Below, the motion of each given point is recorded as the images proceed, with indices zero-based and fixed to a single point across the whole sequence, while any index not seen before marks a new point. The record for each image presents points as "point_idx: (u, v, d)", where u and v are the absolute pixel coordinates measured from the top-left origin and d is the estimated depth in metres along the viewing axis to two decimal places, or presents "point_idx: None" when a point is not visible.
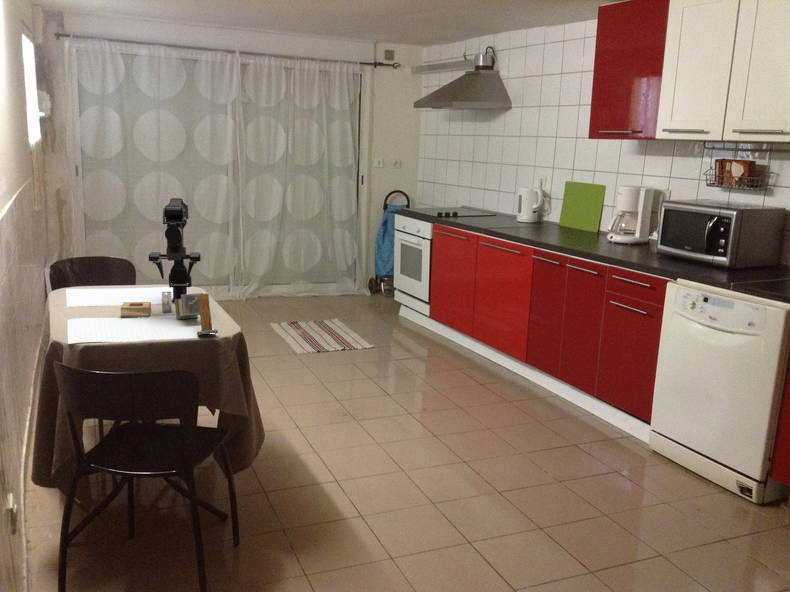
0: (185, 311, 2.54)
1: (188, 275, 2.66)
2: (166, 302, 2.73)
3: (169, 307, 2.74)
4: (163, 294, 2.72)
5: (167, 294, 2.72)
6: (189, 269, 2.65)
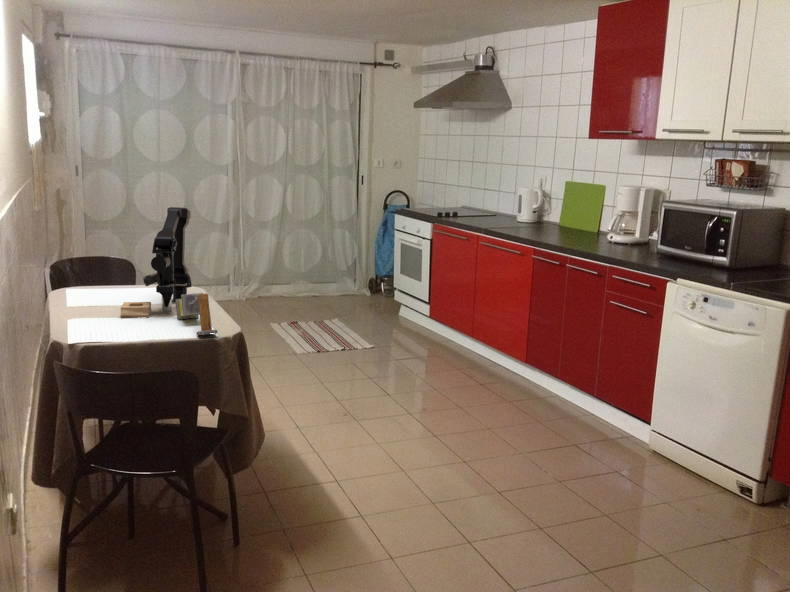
0: (185, 311, 2.54)
1: (164, 303, 2.72)
2: None
3: (169, 307, 2.74)
4: None
5: None
6: None
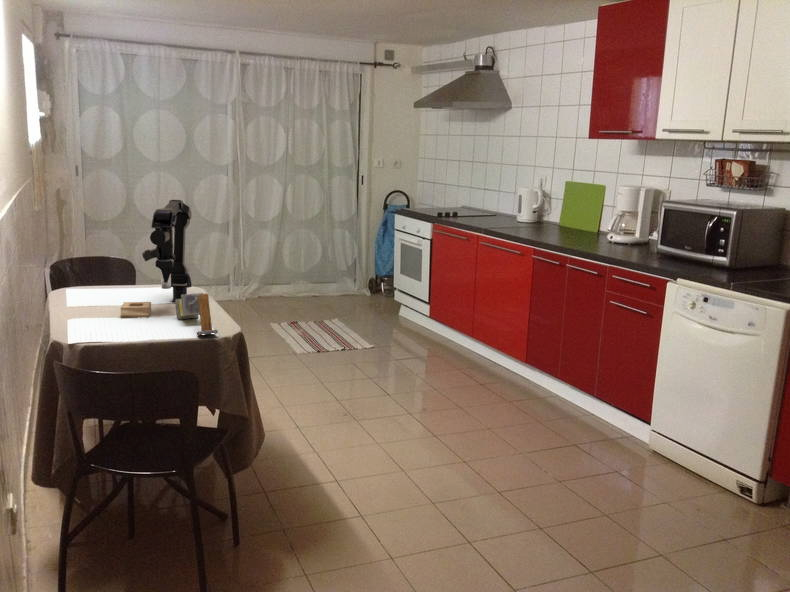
0: (185, 311, 2.54)
1: (163, 278, 2.70)
2: None
3: (168, 283, 2.72)
4: None
5: None
6: (162, 272, 2.69)
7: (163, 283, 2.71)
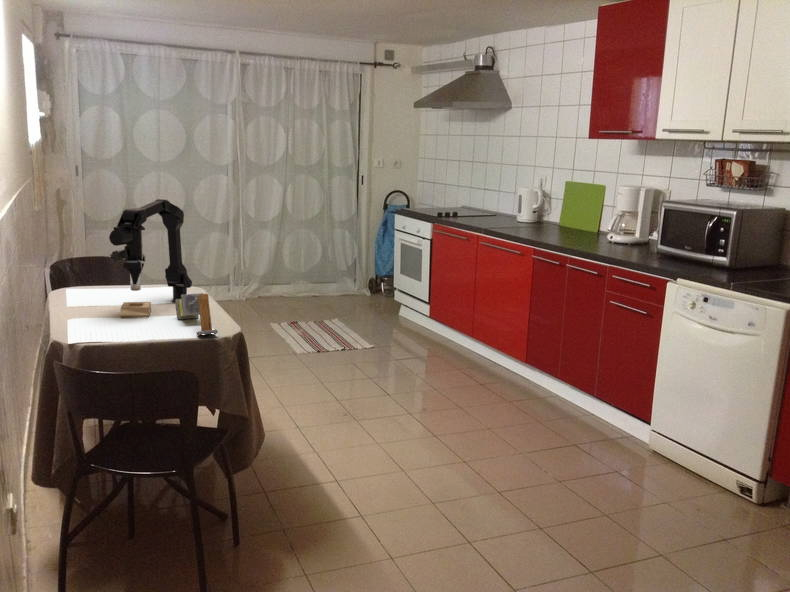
0: (185, 311, 2.54)
1: (132, 280, 2.64)
2: None
3: (138, 284, 2.65)
4: None
5: None
6: None
7: (132, 285, 2.65)
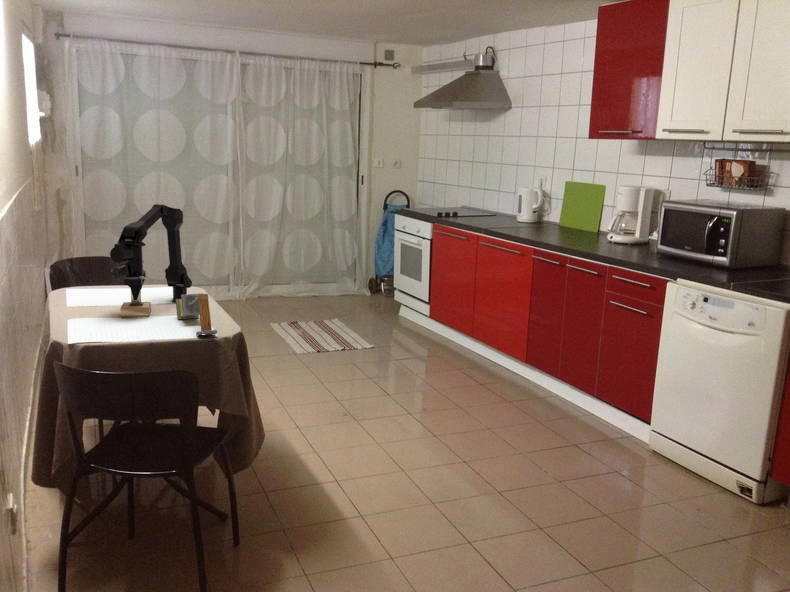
0: (185, 311, 2.54)
1: (133, 296, 2.65)
2: None
3: (138, 300, 2.66)
4: None
5: None
6: None
7: (133, 300, 2.66)
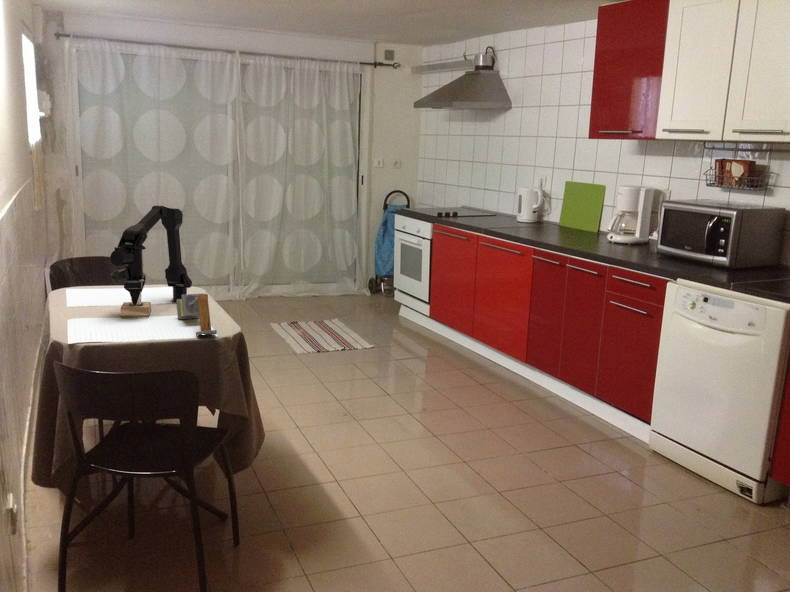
0: (185, 311, 2.54)
1: (132, 301, 2.63)
2: None
3: None
4: None
5: None
6: None
7: None
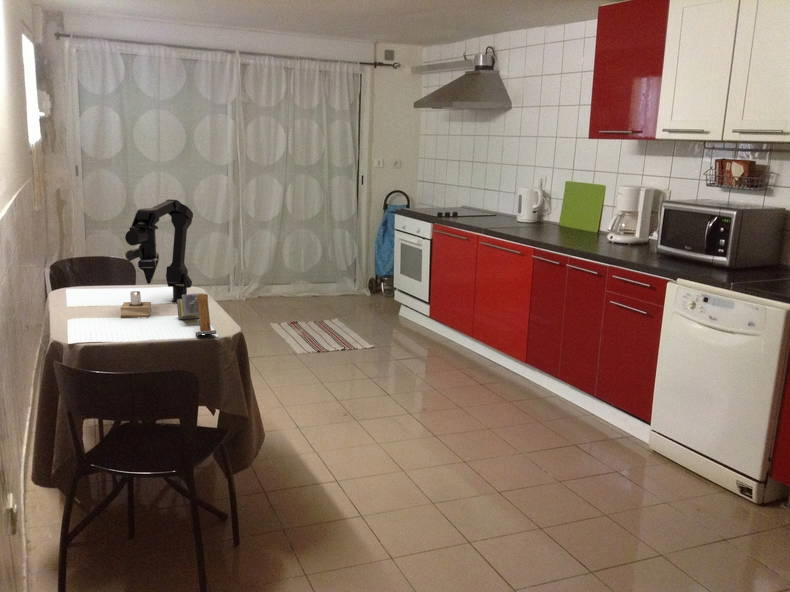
0: (185, 311, 2.54)
1: (146, 279, 2.68)
2: (135, 301, 2.66)
3: None
4: (132, 294, 2.65)
5: (136, 294, 2.65)
6: None
7: None
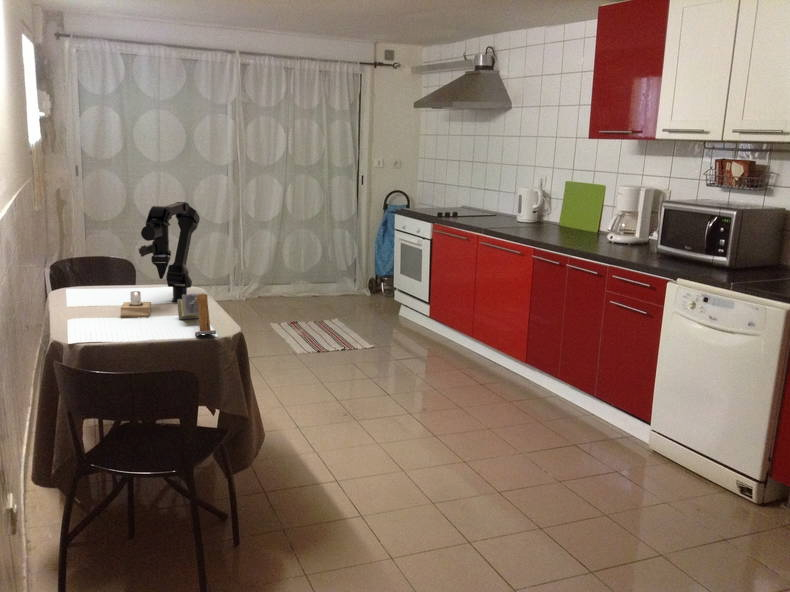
0: (186, 311, 2.54)
1: None
2: (135, 301, 2.66)
3: None
4: (132, 294, 2.65)
5: (136, 294, 2.65)
6: (157, 269, 2.73)
7: None
